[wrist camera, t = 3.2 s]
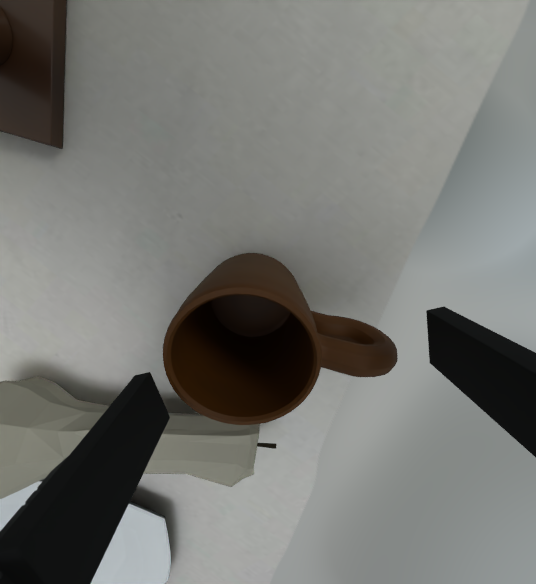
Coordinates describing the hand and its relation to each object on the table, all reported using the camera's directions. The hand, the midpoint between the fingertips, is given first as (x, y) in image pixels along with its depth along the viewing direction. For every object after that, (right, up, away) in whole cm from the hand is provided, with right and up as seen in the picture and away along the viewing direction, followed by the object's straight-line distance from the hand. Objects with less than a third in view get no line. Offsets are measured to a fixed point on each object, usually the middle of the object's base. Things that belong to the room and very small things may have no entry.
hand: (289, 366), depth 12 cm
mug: (0, +3, +9) cm, 9 cm away
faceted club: (-13, -8, +12) cm, 19 cm away
